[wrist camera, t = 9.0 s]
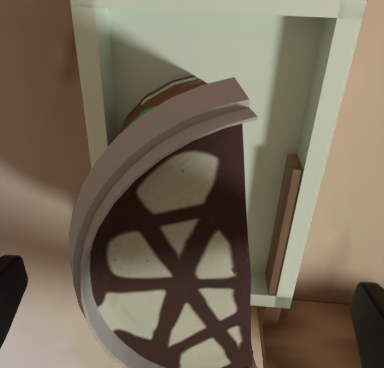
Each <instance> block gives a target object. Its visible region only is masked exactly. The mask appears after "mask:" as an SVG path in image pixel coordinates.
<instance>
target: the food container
mask: <svg viewBox="0 0 384 368" xmlns="http://www.w3.org/2000/svg"><path fill="white" fill-rule="evenodd" d="M249 106H250V103H249V98H248V96H247V95H246V93H245V92H244V90H243V89H242V87H241V86H240V85H239V83H238V82H237V80H236V79H235V77H233V78H228V79H224V80H220V81H216V82H212V83H206V82H204V81H203V80H201V79H199V78H198V77H196V76H194V75H193V76H189V77H185V78H181V79H177V80H172V81H170V82H169V83H167V84H165V85H163V86H162V87H160V88H158V89H156V90H155V91H153V92H151V93H149V94H148V95H146V96H145V97H144V98H143V99H142V100H141V101H140V102H139V103H138V104H137V106H136V107H135V108H134V109H133V110H132V111H131V112H130V113H129V114H128V116H127V117H126V118H125V121H124V123H123V125H122V128H121V130H120V133H119V135H118V136H117V137H116V138H115V140H114V141H113V142H112V143H111V144H110V145H109V147H108V148H107V149H106V150H105V151H104V152H103V154H102V155H101V156H100V157H99V158H98V159H97V161H96V163H95V164H94V166H93V168H92V169H91V171H90V173H89V174H88V176H87V178H86V179H85V181H84V183H83V185H82V187H81V190H80V193H79V195H78V198H77V201H76V204H75V206H74V209H73V214H72V220H71V227H70V233H69V238H70V258H71V266H72V274H73V282H74V288H75V291H76V295H77V299H78V303H79V306H80V308H81V310H82V312H83V314H84V316H85V318H86V321H87V323H88V325H89V327H90V329H91V331H92V333H93V335H94V337H95V338H96V340H97V341H98V342H99V344H100V345H101V346H102V347H103V349H104V350H105V351H106V352H107V353H108V355H110V356H111V357H112V358H113V359H114V360H116V361H117V362H118V363H119V364H120V365H122V366H123V367H124V368H257V367H256V364H255V361H254V358H253V351H252V346H251V322H250V300H251V267H250V255H249V243H248V228H247V212H246V192H245V168H244V146H243V125H242V123H246V122H250V121H254V120H258V116H257V115H256V114H255V113H254V112H253V111H252V110H251V109H250V108H249Z"/></svg>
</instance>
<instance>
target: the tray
mask: <svg viewBox="0 0 384 368" xmlns="http://www.w3.org/2000/svg"><path fill="white" fill-rule="evenodd" d="M366 3H367V0H70V5H71V12H72V20H73V28H74V36H75V44H76V52H77V60H78V67H79V75H80V83H81V91H82V99H83V107H84V115H85V122H86V130H87V138H88V146H89V154H90V162H91V169H92V168H93V166H94V164H95V163H96V161H97V159H98V158H99V157H100V156H101V155H102V154H103V152H104V151H105V150H106V149H107V148H108V147H109V145H110V144H111V143H112V142H113V141H114V140H115V138H116V137H117V136H118V135H119V133H120V130H121V128H122V125H123V123H124V121H125V118H126V117H127V116H128V114H129V113H130V112H131V111H132V110H133V109H134V108H135V107H136V106H137V104H138V103H139V102H140V101H141V100H142V99H143V98H144V97H145V96H146V95H148V94H149V93H151V92H153V91H155V90H156V89H158V88H160V87H162V86H163V85H165V84H167V83H169V82H170V81H172V80H177V79H181V78H185V77H189V76H193V75H194V76H196V77H198V78H199V79H201V80H203V81H204V82H206V83H212V82H216V81H220V80H224V79H228V78H233V77H235V79H236V80H237V82H238V83H239V85H240V86H241V87H242V89H243V90H244V92H245V93H246V95H247V96H248V98H249V103H250V106H249V108H250V109H251V110H252V111H253V112H254V113H255V114H256V115H257V116H258V120H254V121H250V122H246V123H242V125H243V146H244V168H245V192H246V212H247V228H248V243H249V255H250V267H251V300H250V305H253V306H265V307H277V308H289V309H290V305H291V301H292V297H293V293H294V289H295V285H296V281H297V277H298V274H299V270H300V266H301V262H302V258H303V254H304V250H305V246H306V242H307V238H308V234H309V230H310V226H311V222H312V218H313V214H314V210H315V206H316V202H317V198H318V194H319V190H320V186H321V182H322V178H323V174H324V170H325V166H326V162H327V158H328V154H329V150H330V146H331V142H332V138H333V134H334V130H335V126H336V122H337V119H338V115H339V111H340V107H341V103H342V99H343V95H344V91H345V87H346V83H347V79H348V75H349V71H350V67H351V63H352V59H353V55H354V51H355V47H356V43H357V39H358V35H359V31H360V27H361V23H362V19H363V15H364V11H365V7H366ZM287 154H297V156H298V159H299V161H300V163H301V166H302V168H303V174H302V179H301V184H300V188H299V193H298V197H297V202H296V207H295V211H294V216H293V220H292V225H291V230H290V234H289V239H288V243H287V248H286V253H285V257H284V262H283V266H282V271H281V276H280V280H279V285H278V289H277V294H276V295H268V289H267V282H266V275H265V272H266V266H267V261H268V256H269V250H270V245H271V239H272V234H273V229H274V223H275V218H276V213H277V207H278V202H279V197H280V191H281V186H282V180H283V175H284V170H285V164H286V159H287Z"/></svg>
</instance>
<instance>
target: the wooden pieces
mask: <svg viewBox="0 0 384 368" xmlns="http://www.w3.org/2000/svg"><path fill="white" fill-rule="evenodd" d="M302 174H303V168H302V166H301V163H300V161H299V159H298V156H297V154H287V159H286V164H285V170H284V175H283V180H282V186H281V191H280V197H279V202H278V207H277V213H276V218H275V223H274V229H273V234H272V239H271V245H270V250H269V256H268V261H267V266H266V272H265V275H266V282H267V289H268V295H276V294H277V289H278V285H279V280H280V276H281V271H282V266H283V262H284V257H285V253H286V248H287V243H288V239H289V234H290V230H291V225H292V220H293V216H294V211H295V207H296V202H297V197H298V193H299V188H300V184H301V179H302ZM257 310H258V319H259V329H260V338H261V348H262V357H263V367H264V368H362V365H361V361H360V356H359V351H358V346H357V342H356V337H355V332H354V327H353V323H352V318H351V313H350V305H349V304H337V303H324V302H312V301H300V300H292V301H291V305H290V309H289V308H277V307H265V306H257Z"/></svg>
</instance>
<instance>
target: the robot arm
mask: <svg viewBox="0 0 384 368" xmlns="http://www.w3.org/2000/svg"><path fill="white" fill-rule="evenodd" d="M27 283H28V277H27V273H26V270H25V266H24V263H23V259H22V258H21V257H20V256H18V255H4V256H2V257H0V348H1V346H2V344H3V342H4V340H5V338H6V336H7V334H8V331H9V329H10V327H11V324H12V322H13V319H14V317H15V314H16V312H17V309H18V307H19V304H20V302H21V299H22V297H23V294H24V292H25V289H26V287H27ZM350 313H351V318H352V323H353V327H354V332H355V337H356V342H357V346H358V351H359V356H360V361H361V365H362V368H384V289H383V288H382V287H381V286H380V285H378V284H377V283H373V282H360V283H358V285H357V287H356V290H355V292H354V295H353V298H352V300H351V303H350Z"/></svg>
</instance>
